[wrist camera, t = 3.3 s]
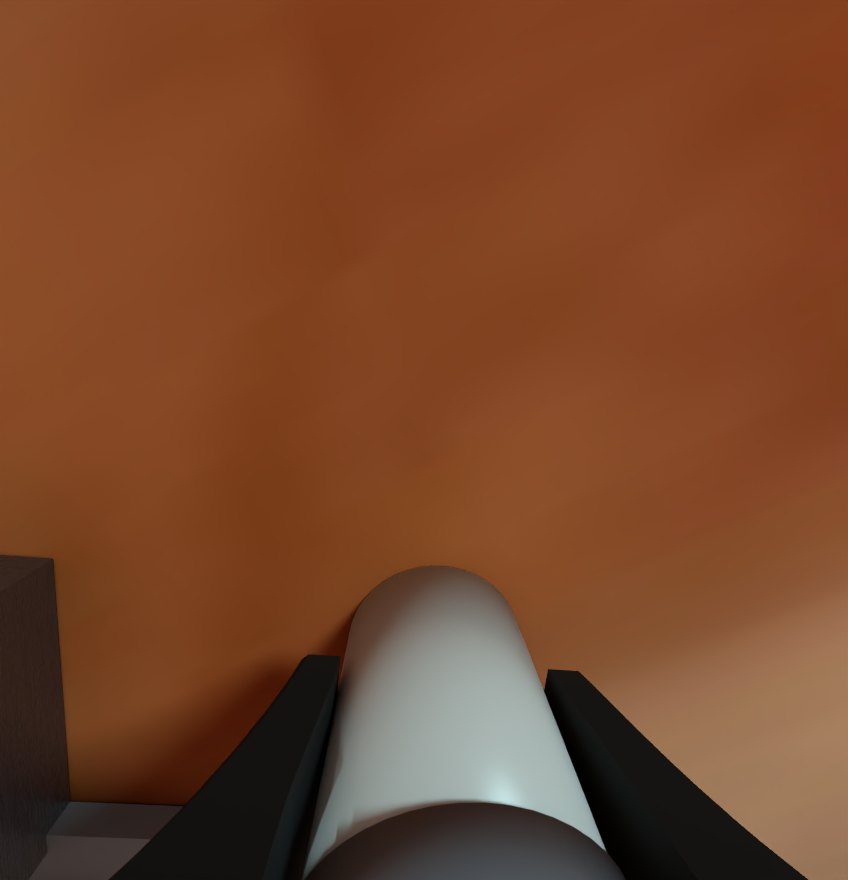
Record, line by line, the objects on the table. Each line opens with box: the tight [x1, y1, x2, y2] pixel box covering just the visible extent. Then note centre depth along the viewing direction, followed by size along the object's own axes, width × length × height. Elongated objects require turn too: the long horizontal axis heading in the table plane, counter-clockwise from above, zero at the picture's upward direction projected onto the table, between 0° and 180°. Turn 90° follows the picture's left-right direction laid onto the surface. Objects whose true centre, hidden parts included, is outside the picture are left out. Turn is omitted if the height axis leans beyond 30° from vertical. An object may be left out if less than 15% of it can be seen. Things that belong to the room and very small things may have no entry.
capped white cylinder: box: [302, 566, 626, 880], centre depth 8 cm, size 4×4×7 cm
